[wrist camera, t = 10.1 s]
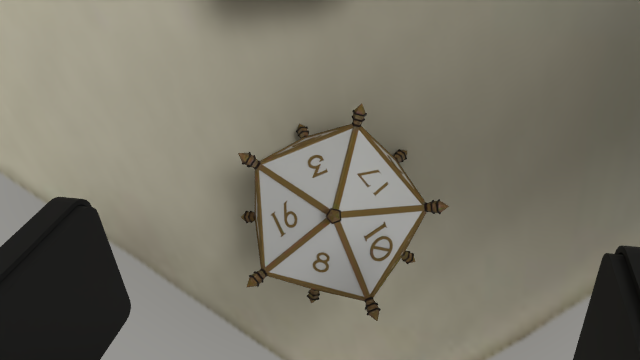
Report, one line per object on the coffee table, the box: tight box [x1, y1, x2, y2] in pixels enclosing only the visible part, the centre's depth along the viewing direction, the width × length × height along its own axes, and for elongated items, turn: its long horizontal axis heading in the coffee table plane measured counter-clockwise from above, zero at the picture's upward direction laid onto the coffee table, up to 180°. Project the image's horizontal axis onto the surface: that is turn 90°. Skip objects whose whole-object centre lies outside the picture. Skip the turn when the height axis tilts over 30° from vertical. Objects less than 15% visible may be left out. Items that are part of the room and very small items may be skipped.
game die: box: [238, 104, 449, 321], centre depth 23 cm, size 9×8×10 cm
